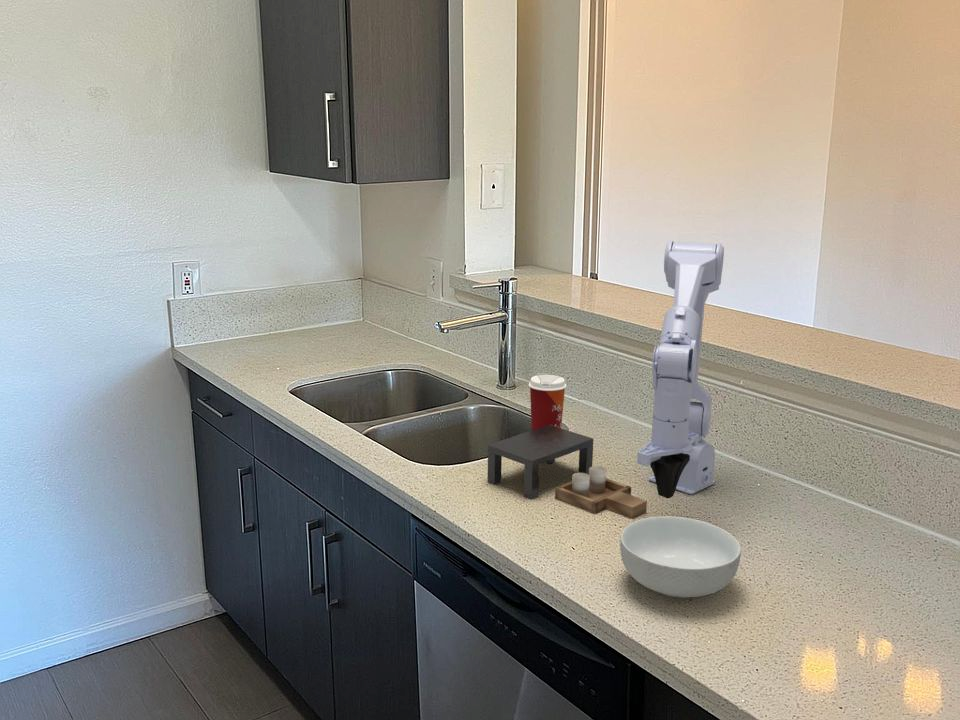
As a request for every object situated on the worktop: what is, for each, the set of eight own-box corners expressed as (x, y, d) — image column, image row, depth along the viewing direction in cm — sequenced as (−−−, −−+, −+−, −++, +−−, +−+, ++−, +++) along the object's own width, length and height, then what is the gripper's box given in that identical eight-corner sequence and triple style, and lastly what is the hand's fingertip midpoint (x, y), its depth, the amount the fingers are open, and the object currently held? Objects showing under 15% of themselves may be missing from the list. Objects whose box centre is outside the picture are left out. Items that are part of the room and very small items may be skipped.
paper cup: (562, 452, 184) (564, 385, 181) (524, 449, 186) (525, 382, 182) (566, 439, 192) (568, 374, 188) (530, 436, 193) (531, 372, 189)
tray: (656, 506, 159) (657, 482, 158) (621, 523, 152) (622, 498, 151) (590, 483, 169) (591, 460, 168) (555, 498, 162) (555, 474, 161)
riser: (591, 474, 173) (593, 438, 171) (531, 499, 161) (532, 461, 160) (548, 459, 180) (549, 424, 179) (487, 481, 169) (487, 445, 167)
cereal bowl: (666, 626, 122) (670, 578, 120) (595, 572, 136) (597, 528, 134) (763, 597, 129) (767, 551, 127) (685, 549, 143) (688, 507, 142)
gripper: (665, 433, 139) (660, 515, 143) (717, 413, 149) (711, 490, 153) (628, 422, 144) (623, 502, 148) (680, 403, 154) (675, 479, 158)
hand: (665, 495), depth 151 cm, fingers closed
